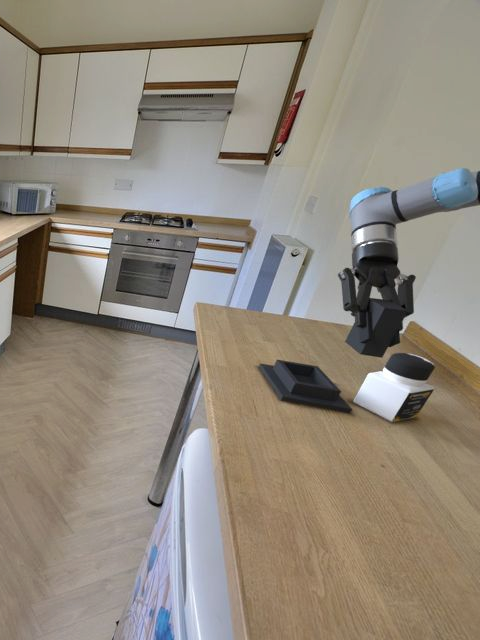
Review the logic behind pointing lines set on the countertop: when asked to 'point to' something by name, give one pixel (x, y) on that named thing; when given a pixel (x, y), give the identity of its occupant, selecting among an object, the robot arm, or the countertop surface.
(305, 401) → the base pad
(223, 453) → the countertop surface
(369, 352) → the upright block
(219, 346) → the countertop surface
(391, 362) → the medicine bottle
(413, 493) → the countertop surface
